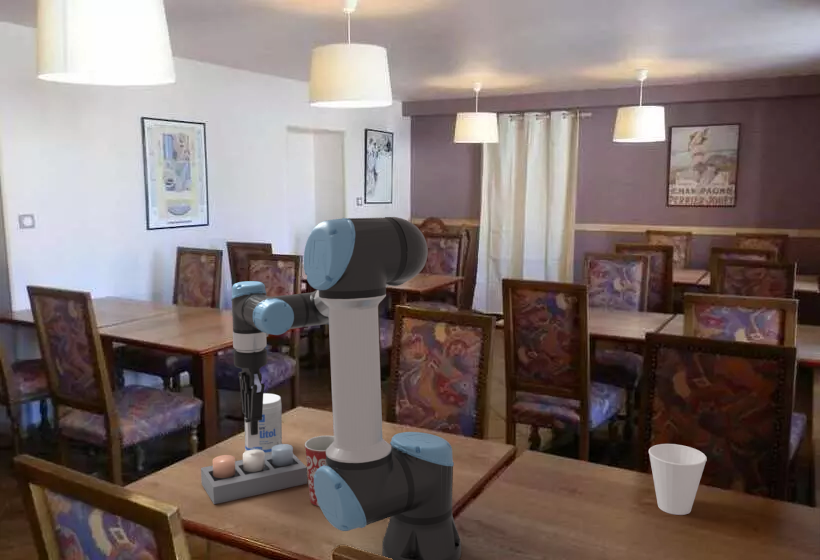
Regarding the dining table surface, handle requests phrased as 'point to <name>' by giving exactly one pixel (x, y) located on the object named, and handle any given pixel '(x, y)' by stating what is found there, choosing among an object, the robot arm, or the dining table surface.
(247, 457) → the white domed button
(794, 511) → the dining table surface
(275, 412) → the supplement tub
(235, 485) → the grey compartment tray
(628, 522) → the dining table surface
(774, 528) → the dining table surface
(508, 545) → the dining table surface
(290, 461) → the pale blue dome
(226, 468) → the peach round dome
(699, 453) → the cup
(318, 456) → the mug
